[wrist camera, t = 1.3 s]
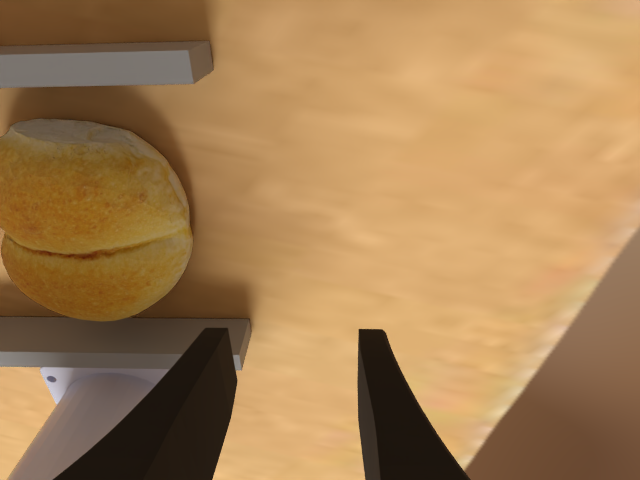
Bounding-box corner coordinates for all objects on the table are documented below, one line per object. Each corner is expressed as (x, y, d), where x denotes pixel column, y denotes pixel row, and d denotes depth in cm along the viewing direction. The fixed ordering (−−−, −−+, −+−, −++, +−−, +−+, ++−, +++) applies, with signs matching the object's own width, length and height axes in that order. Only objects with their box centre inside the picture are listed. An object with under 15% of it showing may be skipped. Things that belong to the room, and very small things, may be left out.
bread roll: (39, 283, 22) (-17, 339, 19) (-9, 104, 18) (-95, 134, 14) (202, 303, 22) (176, 362, 19) (196, 130, 18) (160, 166, 14)
